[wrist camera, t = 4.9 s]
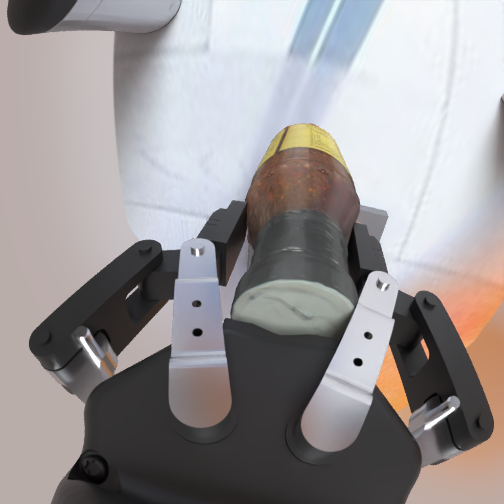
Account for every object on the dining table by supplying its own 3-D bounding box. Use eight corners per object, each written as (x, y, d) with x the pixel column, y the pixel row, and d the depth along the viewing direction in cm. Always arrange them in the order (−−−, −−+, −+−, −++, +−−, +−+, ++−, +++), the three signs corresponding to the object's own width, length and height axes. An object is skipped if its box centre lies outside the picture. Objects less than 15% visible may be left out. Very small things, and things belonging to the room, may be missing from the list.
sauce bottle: (289, 192, 27) (240, 387, 11) (259, 136, 24) (143, 287, 8) (352, 169, 24) (396, 366, 8) (325, 108, 21) (355, 218, 5)
